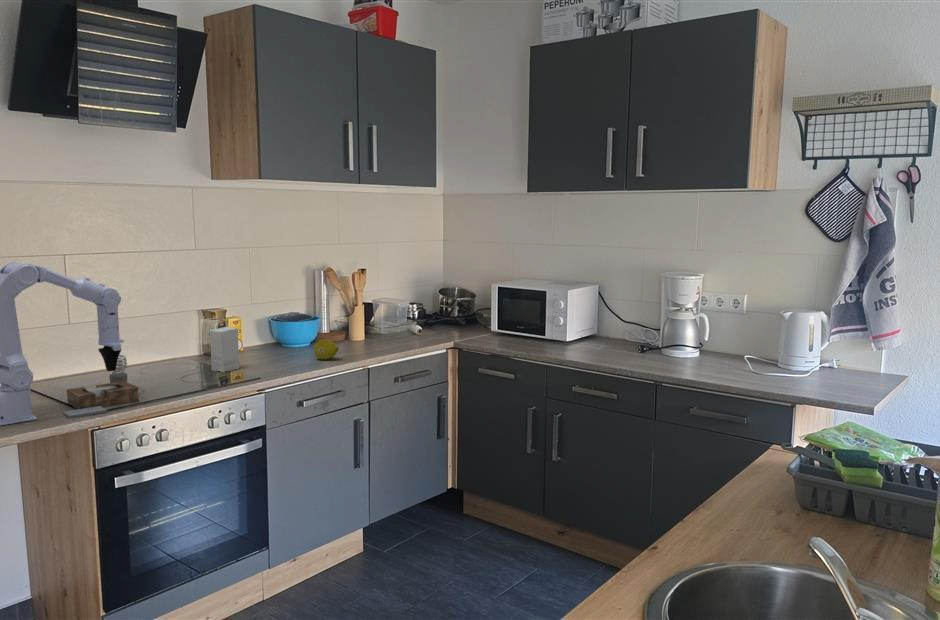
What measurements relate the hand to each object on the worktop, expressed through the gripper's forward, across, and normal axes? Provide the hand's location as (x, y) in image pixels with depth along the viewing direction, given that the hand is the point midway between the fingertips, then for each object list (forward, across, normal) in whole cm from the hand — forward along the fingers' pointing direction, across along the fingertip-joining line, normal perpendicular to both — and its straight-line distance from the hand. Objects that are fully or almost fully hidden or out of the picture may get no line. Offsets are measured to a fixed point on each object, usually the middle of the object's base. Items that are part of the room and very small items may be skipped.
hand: (111, 370), depth 230 cm
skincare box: (+10, +20, -46) cm, 52 cm away
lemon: (+10, +12, -84) cm, 86 cm away
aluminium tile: (+8, 0, +3) cm, 8 cm away
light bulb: (+10, +14, -6) cm, 18 cm away
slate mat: (+10, -10, +11) cm, 18 cm away
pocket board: (+10, 0, +3) cm, 10 cm away
